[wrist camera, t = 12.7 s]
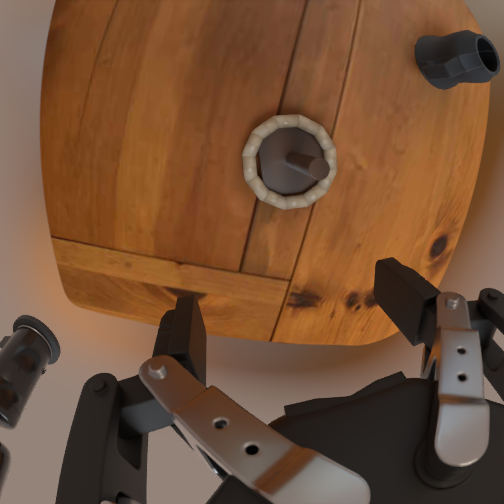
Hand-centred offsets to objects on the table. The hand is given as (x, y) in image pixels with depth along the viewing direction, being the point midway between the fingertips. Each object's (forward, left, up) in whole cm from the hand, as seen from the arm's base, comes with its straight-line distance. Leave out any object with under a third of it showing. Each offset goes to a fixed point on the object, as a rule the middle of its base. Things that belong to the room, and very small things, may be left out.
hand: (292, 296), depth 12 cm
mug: (+30, +17, -24) cm, 42 cm away
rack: (+6, +3, -24) cm, 25 cm away
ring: (+6, +3, -22) cm, 23 cm away
